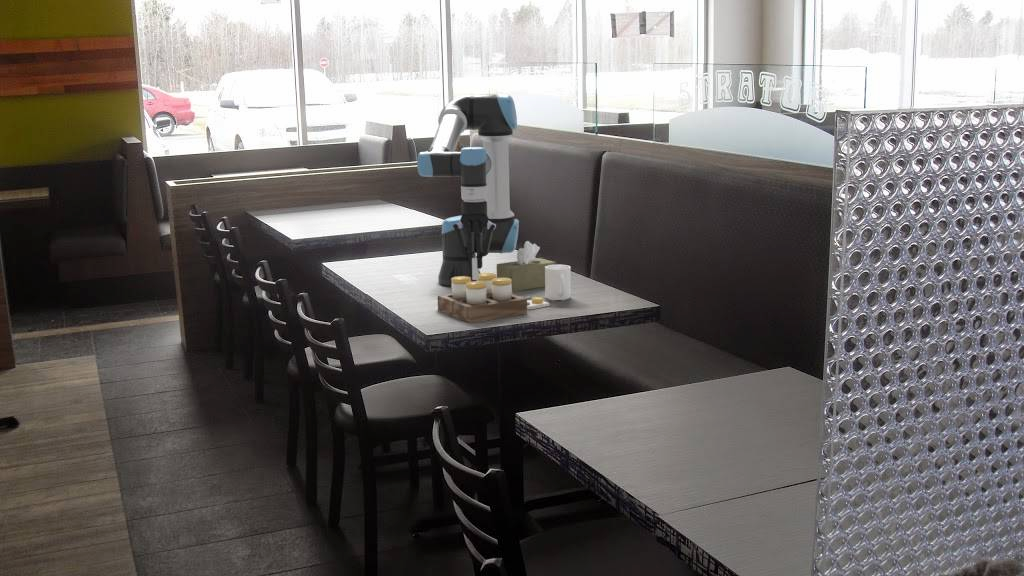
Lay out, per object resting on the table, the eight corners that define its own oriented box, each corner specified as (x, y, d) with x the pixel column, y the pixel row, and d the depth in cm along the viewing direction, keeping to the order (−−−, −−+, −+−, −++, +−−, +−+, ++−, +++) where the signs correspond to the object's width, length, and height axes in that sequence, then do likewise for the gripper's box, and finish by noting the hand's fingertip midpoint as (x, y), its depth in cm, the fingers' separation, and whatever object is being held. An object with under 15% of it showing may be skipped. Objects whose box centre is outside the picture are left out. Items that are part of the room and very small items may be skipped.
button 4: (488, 298, 301) (488, 279, 299) (505, 295, 304) (504, 276, 303) (498, 302, 296) (498, 282, 294) (515, 299, 299) (515, 280, 298)
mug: (576, 302, 312) (576, 270, 310) (550, 304, 311) (550, 272, 308) (567, 294, 324) (567, 263, 321) (542, 295, 322) (542, 265, 320)
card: (502, 303, 313) (501, 296, 312) (528, 299, 318) (528, 292, 317) (522, 310, 303) (522, 303, 302) (549, 306, 308) (549, 299, 308)
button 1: (448, 296, 303) (447, 277, 302) (465, 294, 307) (464, 275, 305) (458, 300, 298) (457, 281, 297) (475, 297, 302) (474, 278, 300)
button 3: (473, 293, 308) (473, 274, 307) (490, 290, 311) (489, 272, 310) (483, 296, 303) (483, 277, 302) (499, 294, 306) (499, 275, 305)
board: (437, 310, 305) (437, 295, 304) (492, 301, 316) (492, 287, 315) (470, 323, 289) (469, 307, 288) (527, 313, 299) (526, 298, 298)
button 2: (462, 302, 296) (462, 282, 295) (480, 299, 299) (479, 280, 298) (472, 306, 291) (472, 286, 290) (490, 303, 294) (489, 283, 293)
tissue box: (511, 292, 329) (510, 245, 326) (495, 287, 337) (495, 241, 334) (557, 284, 339) (556, 239, 336) (540, 280, 347) (540, 236, 344)
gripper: (449, 201, 286) (451, 280, 291) (492, 202, 283) (494, 282, 288) (456, 198, 293) (458, 275, 298) (498, 199, 291) (500, 277, 296)
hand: (475, 278), depth 293 cm, fingers closed
